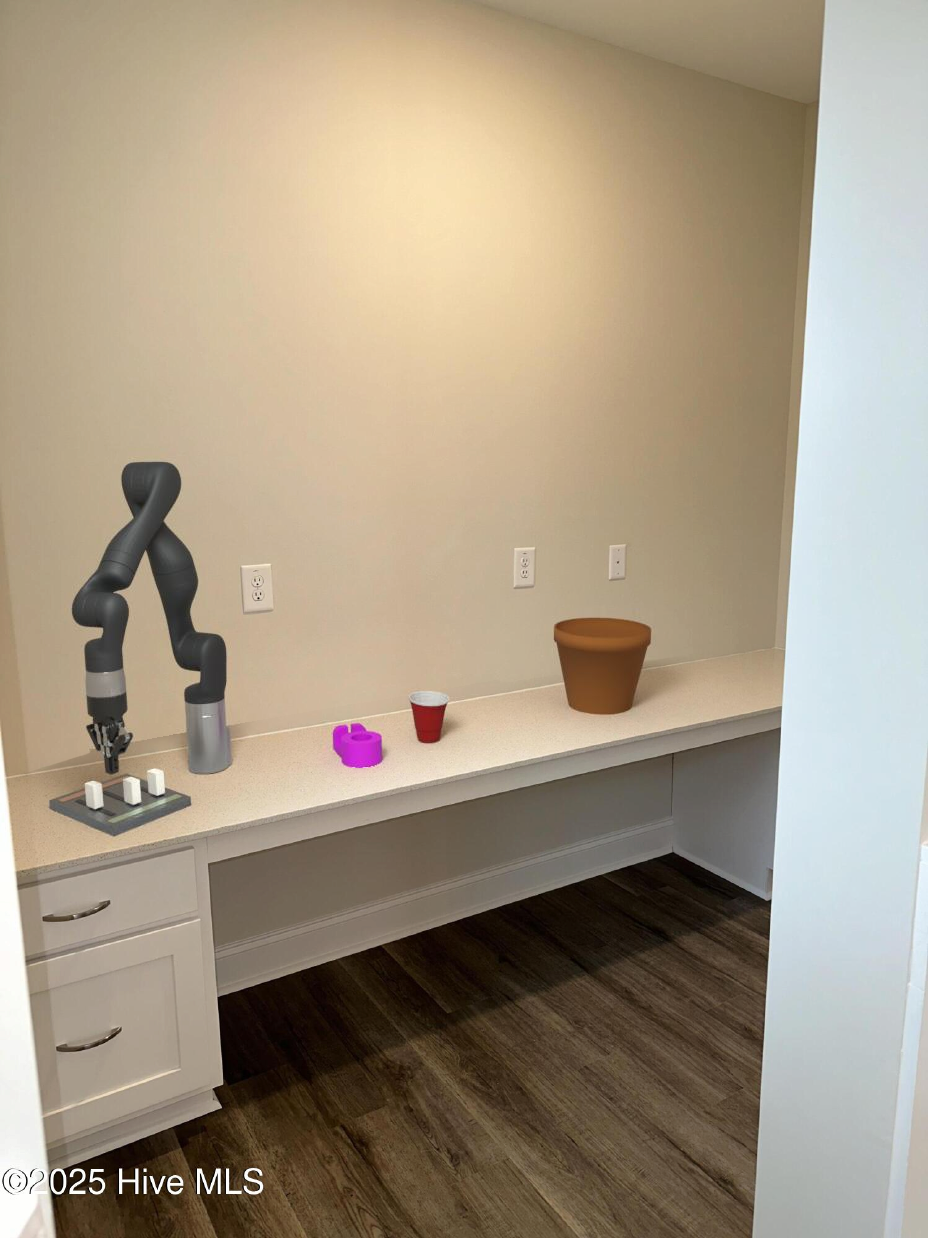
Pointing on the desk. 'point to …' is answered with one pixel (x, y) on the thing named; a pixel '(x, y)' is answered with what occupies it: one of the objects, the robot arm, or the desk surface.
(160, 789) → the switch
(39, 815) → the desk surface
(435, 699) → the plastic cup
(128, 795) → the switch middle
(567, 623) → the flowerpot
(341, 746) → the tape dispenser
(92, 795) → the switch
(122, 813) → the switch panel
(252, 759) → the desk surface
